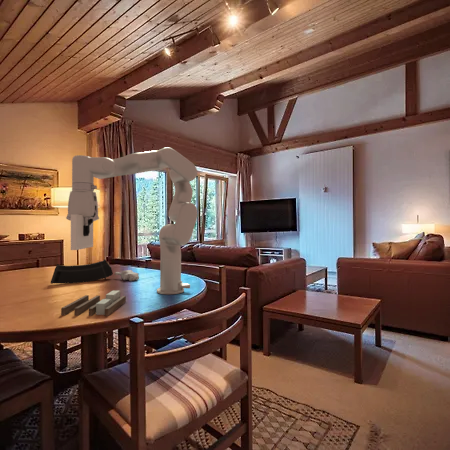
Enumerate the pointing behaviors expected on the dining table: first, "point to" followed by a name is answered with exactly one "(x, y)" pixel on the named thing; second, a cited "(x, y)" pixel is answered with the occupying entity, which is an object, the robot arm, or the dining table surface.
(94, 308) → the rack
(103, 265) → the magazine
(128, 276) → the bunny figurine
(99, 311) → the small offcut
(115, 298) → the large offcut
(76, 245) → the tall sheet
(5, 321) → the dining table surface
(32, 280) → the dining table surface
